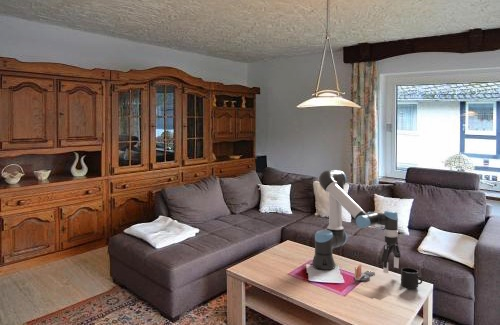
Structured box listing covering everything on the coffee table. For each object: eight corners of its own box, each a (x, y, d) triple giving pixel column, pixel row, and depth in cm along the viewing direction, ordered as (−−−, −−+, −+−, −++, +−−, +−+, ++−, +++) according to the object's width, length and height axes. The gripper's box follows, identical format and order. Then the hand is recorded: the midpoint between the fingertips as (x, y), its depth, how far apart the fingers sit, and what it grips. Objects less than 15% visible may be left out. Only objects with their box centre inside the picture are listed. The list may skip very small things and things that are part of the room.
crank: (360, 274, 220) (360, 261, 220) (366, 275, 218) (366, 263, 218) (354, 279, 212) (354, 266, 211) (361, 280, 209) (361, 267, 209)
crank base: (349, 279, 217) (349, 266, 216) (360, 275, 224) (360, 262, 224) (362, 283, 210) (362, 270, 209) (372, 279, 217) (372, 266, 217)
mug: (418, 291, 198) (418, 275, 198) (397, 285, 207) (398, 270, 207) (425, 287, 204) (425, 271, 204) (405, 281, 213) (405, 266, 213)
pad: (353, 272, 228) (353, 271, 228) (363, 269, 235) (363, 268, 235) (368, 277, 220) (368, 276, 220) (378, 273, 227) (378, 272, 227)
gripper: (387, 240, 204) (387, 276, 204) (406, 233, 220) (406, 267, 221) (375, 238, 209) (375, 273, 210) (394, 231, 226) (394, 264, 227)
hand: (391, 270), depth 215 cm, fingers open, 13 cm apart
